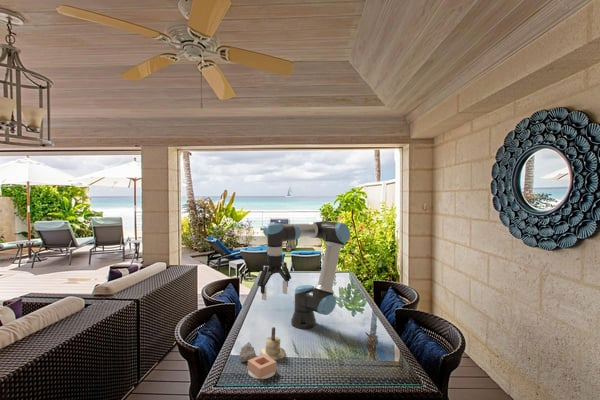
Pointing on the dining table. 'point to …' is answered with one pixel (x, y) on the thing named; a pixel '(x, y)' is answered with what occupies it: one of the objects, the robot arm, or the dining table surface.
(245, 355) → the stone
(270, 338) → the stand
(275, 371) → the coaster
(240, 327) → the dining table surface
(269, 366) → the link
